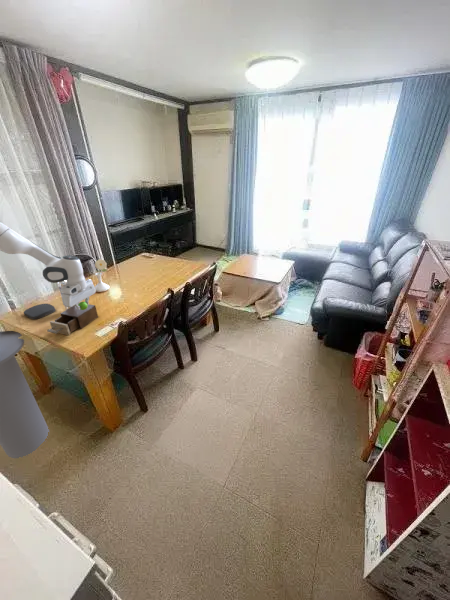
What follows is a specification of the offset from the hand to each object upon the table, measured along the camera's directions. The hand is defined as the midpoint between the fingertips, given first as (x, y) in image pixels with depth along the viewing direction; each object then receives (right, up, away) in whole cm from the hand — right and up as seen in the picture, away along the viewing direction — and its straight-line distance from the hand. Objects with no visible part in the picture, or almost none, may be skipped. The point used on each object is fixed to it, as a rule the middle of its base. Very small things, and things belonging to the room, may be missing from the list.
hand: (82, 306), depth 146 cm
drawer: (-12, -14, +4) cm, 18 cm away
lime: (0, -2, +1) cm, 2 cm away
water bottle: (-21, -4, +24) cm, 32 cm away
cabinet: (-9, -9, +14) cm, 19 cm away
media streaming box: (-40, -5, +22) cm, 46 cm away
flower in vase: (-14, +12, +54) cm, 57 cm away
